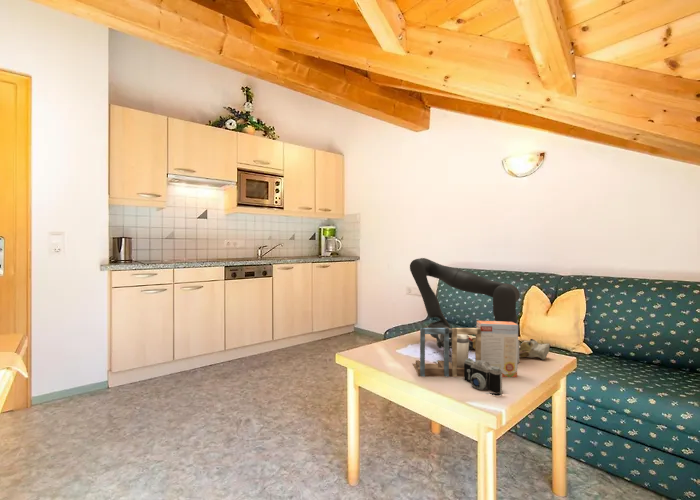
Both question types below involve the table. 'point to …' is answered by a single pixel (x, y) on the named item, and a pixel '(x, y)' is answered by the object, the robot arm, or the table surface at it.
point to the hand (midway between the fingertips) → (459, 348)
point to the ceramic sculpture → (533, 349)
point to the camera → (483, 376)
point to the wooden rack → (445, 353)
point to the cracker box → (500, 345)
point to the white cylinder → (462, 349)
